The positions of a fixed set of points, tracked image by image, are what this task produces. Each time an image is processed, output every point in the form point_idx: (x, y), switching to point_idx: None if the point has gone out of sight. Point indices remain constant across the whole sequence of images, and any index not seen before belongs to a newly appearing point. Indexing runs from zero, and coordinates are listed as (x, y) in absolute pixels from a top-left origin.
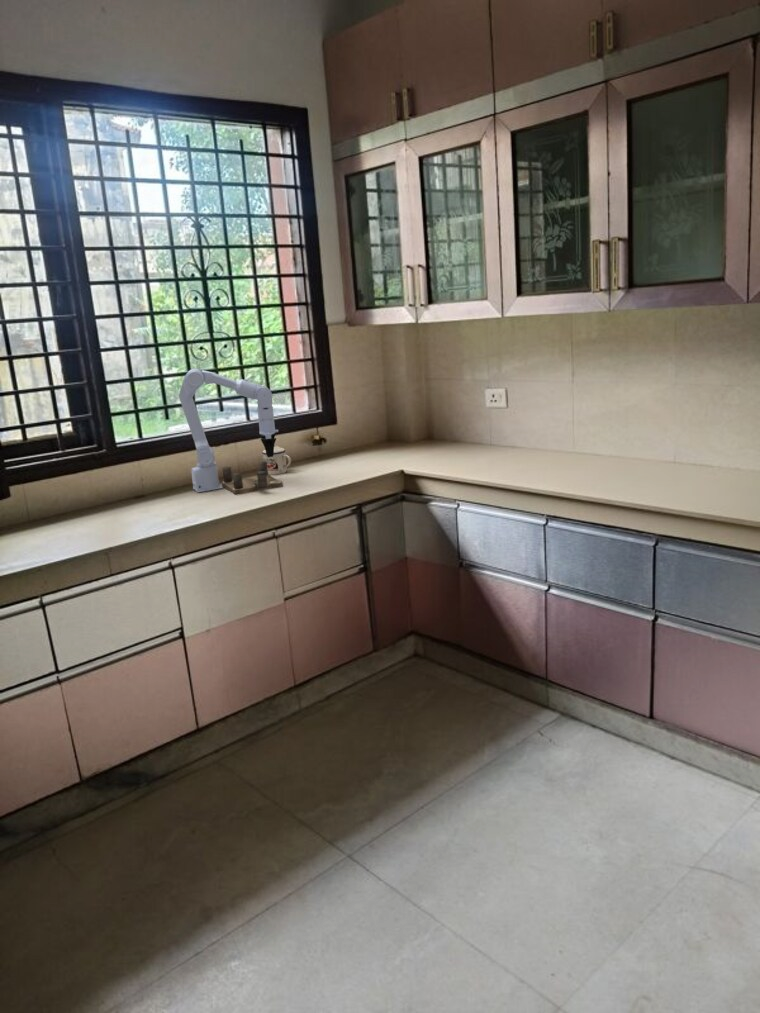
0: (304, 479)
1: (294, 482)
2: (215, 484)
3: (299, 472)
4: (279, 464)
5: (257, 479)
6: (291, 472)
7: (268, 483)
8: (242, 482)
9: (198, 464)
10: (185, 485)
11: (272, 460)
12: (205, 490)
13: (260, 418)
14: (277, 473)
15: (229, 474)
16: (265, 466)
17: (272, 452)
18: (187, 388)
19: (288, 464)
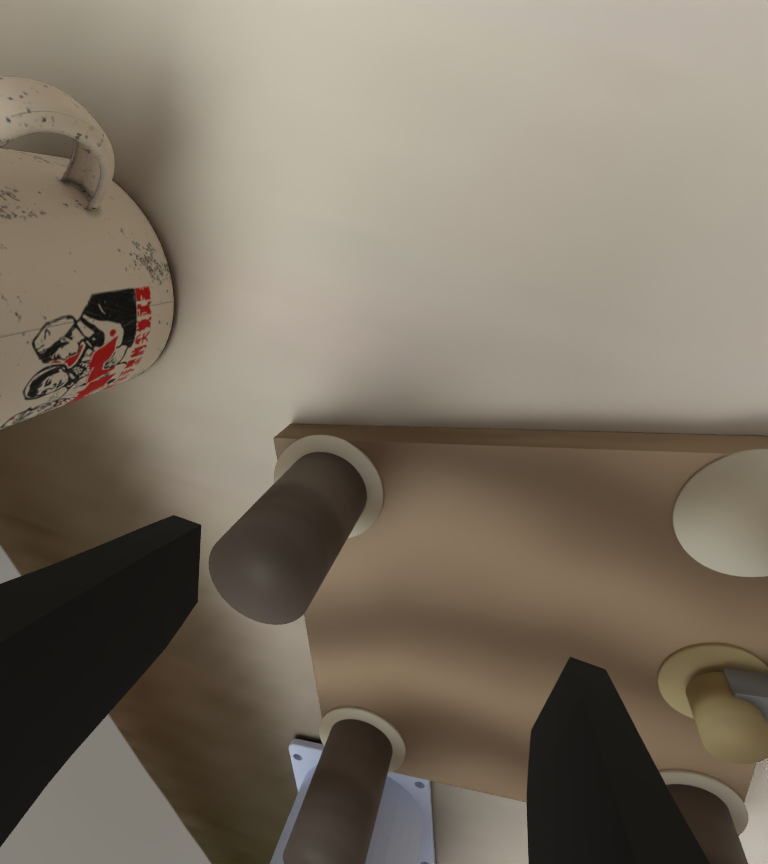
0: (669, 60)
1: (729, 250)
2: (410, 828)
3: (192, 20)
4: (91, 270)
5: (756, 741)
6: (147, 123)
7: (727, 584)
8: (726, 847)
9: None
10: (196, 810)
11: (50, 364)
12: (433, 848)
13: None
14: (170, 295)
15: (373, 809)
16: (325, 537)
17: (643, 776)
18: None
19: (106, 146)
